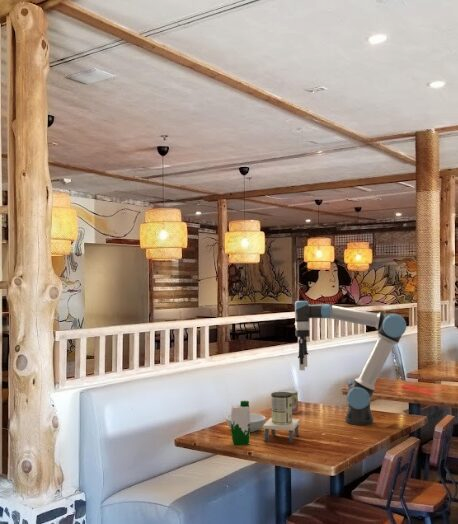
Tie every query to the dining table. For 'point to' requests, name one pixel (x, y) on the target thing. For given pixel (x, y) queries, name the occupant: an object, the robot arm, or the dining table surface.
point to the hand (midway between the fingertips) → (303, 368)
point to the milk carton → (240, 423)
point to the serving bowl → (251, 421)
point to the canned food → (293, 399)
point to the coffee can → (281, 407)
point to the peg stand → (290, 427)
